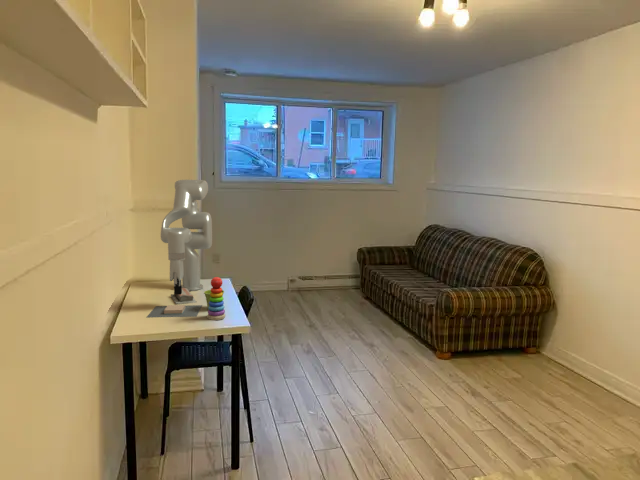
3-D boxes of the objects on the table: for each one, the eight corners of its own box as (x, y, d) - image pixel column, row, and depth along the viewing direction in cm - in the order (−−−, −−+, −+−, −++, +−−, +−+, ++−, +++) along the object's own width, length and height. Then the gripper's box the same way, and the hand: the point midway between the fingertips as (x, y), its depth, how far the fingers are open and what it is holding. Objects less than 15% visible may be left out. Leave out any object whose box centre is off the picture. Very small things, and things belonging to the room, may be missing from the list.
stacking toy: (208, 321, 209) (207, 279, 207) (205, 316, 217) (204, 275, 214) (227, 319, 212) (226, 278, 210) (223, 314, 220) (222, 274, 217)
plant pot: (203, 307, 230) (202, 290, 229) (222, 305, 234) (222, 288, 232) (205, 313, 222) (205, 294, 220) (226, 311, 225) (225, 293, 224)
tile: (167, 305, 226) (164, 310, 218) (185, 305, 226) (182, 309, 218) (168, 309, 226) (164, 314, 218) (185, 309, 227) (182, 314, 219)
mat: (155, 306, 231) (155, 306, 231) (202, 305, 233) (202, 305, 233) (146, 318, 214) (146, 317, 213) (196, 317, 216) (196, 316, 216)
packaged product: (170, 288, 249) (189, 286, 254) (170, 297, 250) (189, 295, 254) (175, 296, 233) (196, 294, 238) (176, 306, 234) (196, 304, 238)
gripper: (171, 253, 234) (173, 289, 237) (165, 259, 219) (166, 298, 222) (187, 253, 234) (188, 289, 237) (181, 259, 220) (183, 298, 223)
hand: (178, 293), depth 230 cm, fingers closed
